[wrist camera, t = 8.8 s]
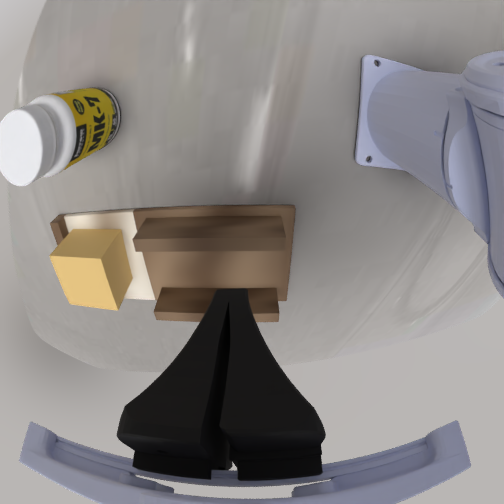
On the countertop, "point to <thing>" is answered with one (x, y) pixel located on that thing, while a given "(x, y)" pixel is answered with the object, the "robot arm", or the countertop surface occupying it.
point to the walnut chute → (200, 254)
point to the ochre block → (93, 267)
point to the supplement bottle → (56, 133)
